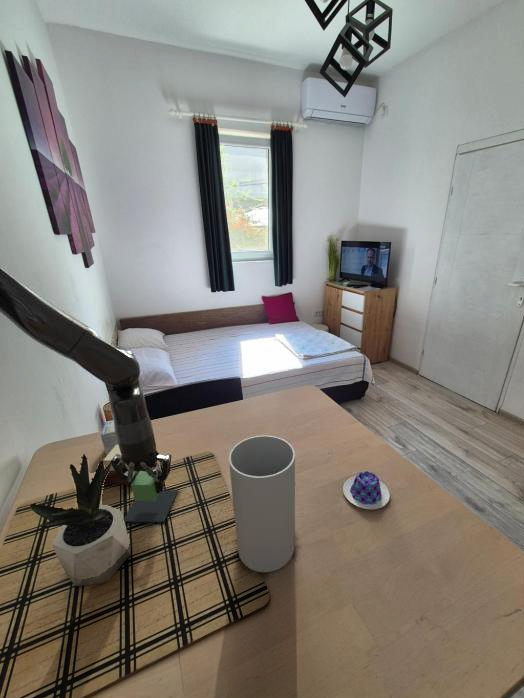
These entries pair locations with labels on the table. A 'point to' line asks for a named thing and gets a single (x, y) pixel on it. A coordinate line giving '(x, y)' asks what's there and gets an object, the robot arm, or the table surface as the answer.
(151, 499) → the green cube
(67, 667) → the table surface
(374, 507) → the pudding
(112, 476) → the walnut block
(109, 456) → the cream block
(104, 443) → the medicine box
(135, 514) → the rubber mat
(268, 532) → the cylinder vase
